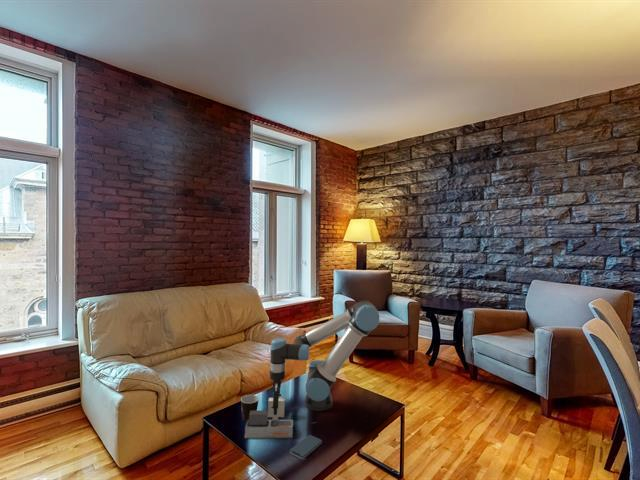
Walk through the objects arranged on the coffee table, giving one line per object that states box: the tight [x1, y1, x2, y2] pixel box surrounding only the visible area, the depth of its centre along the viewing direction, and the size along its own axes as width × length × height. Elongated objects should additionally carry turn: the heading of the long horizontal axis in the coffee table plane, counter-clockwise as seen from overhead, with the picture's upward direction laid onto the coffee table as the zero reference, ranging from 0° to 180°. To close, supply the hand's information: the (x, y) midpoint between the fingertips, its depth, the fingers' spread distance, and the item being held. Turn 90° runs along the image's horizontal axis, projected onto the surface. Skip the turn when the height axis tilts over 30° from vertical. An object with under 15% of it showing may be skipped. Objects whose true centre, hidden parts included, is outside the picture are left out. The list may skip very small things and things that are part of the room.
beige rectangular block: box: [267, 397, 286, 418], centre depth 163 cm, size 8×4×8 cm, turn 93°
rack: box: [244, 410, 294, 439], centre depth 148 cm, size 21×9×9 cm, turn 93°
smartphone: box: [289, 434, 323, 460], centre depth 138 cm, size 8×2×15 cm
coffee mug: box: [240, 394, 260, 423], centre depth 160 cm, size 12×9×10 cm
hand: (275, 414), depth 163 cm, fingers open, 9 cm apart
